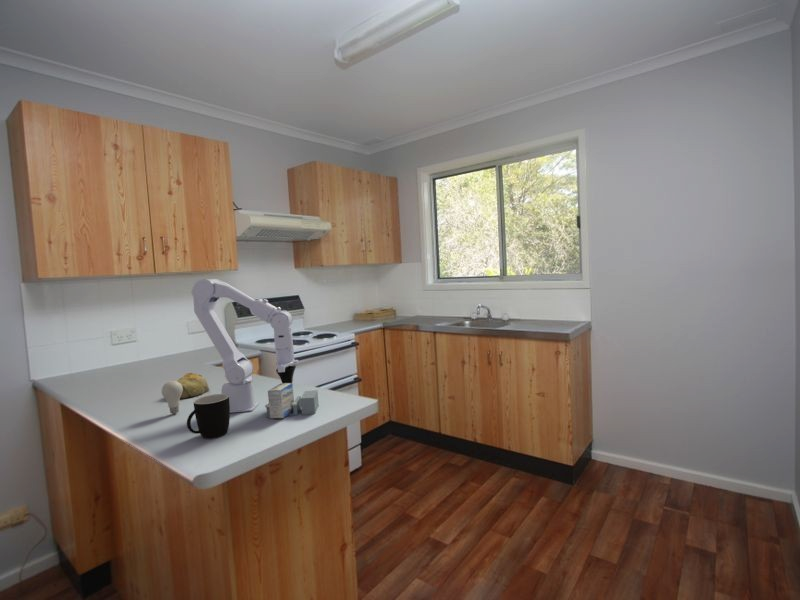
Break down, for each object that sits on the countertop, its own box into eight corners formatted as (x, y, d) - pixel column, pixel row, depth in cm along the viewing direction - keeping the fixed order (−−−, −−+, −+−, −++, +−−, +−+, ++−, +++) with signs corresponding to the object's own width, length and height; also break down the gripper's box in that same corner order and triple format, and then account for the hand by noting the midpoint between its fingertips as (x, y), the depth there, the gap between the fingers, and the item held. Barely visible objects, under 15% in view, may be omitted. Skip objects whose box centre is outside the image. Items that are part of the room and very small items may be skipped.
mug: (218, 426, 124) (215, 392, 123) (239, 430, 119) (235, 395, 118) (179, 442, 113) (175, 405, 113) (200, 447, 109) (196, 409, 108)
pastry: (210, 388, 170) (208, 368, 169) (207, 396, 158) (205, 375, 157) (171, 393, 165) (169, 373, 165) (165, 402, 153) (163, 380, 153)
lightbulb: (189, 411, 140) (186, 378, 139) (174, 417, 134) (170, 383, 133) (175, 410, 142) (171, 378, 141) (159, 416, 136) (156, 383, 135)
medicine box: (283, 418, 126) (281, 390, 125) (269, 418, 127) (267, 390, 126) (295, 409, 133) (292, 382, 133) (282, 409, 134) (279, 382, 134)
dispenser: (266, 418, 128) (264, 402, 128) (273, 408, 137) (271, 393, 136) (314, 414, 129) (313, 398, 129) (318, 405, 138) (317, 390, 137)
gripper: (292, 351, 131) (296, 394, 132) (300, 343, 146) (303, 382, 147) (269, 353, 131) (273, 396, 132) (279, 344, 145) (283, 383, 146)
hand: (288, 388), depth 139 cm, fingers closed
